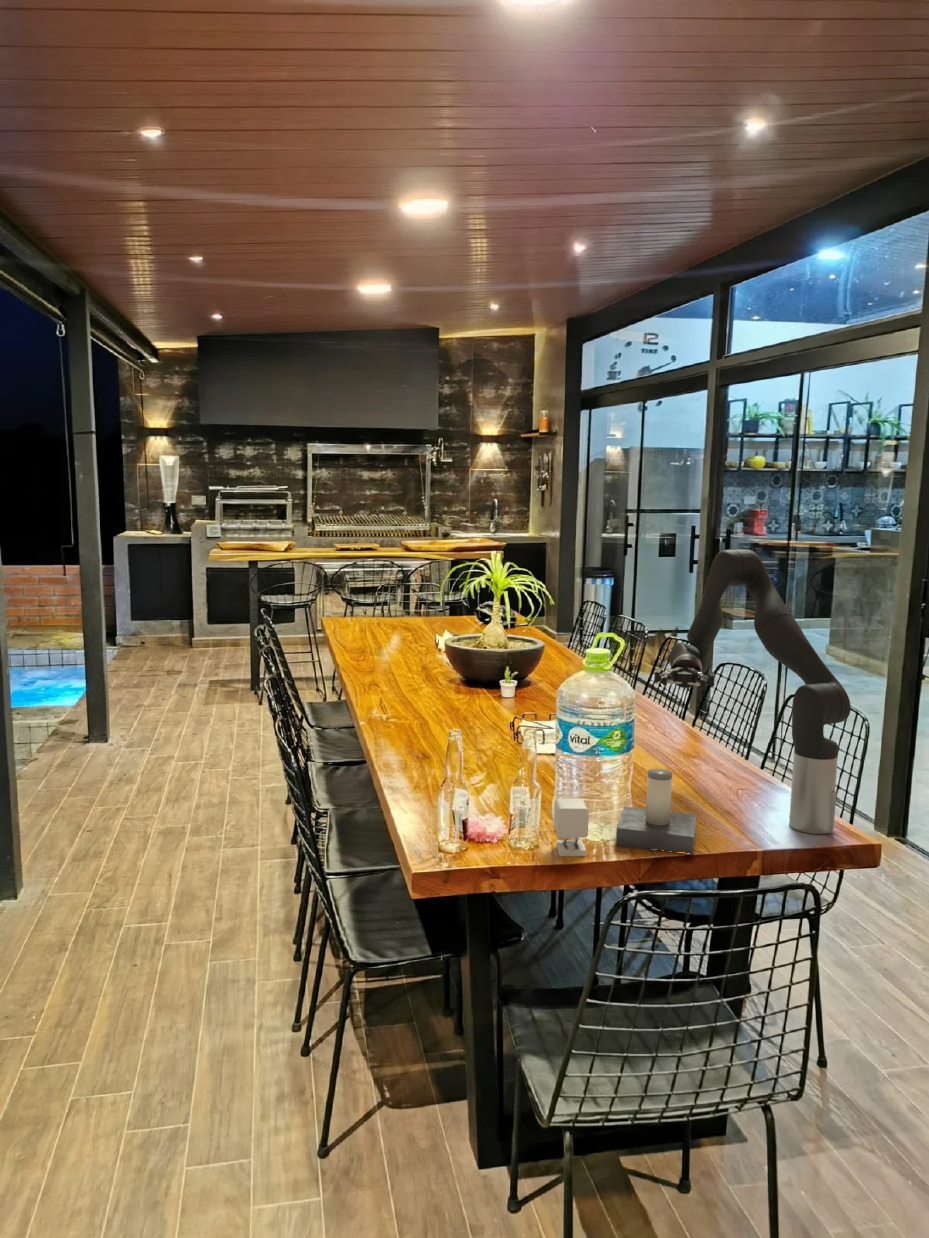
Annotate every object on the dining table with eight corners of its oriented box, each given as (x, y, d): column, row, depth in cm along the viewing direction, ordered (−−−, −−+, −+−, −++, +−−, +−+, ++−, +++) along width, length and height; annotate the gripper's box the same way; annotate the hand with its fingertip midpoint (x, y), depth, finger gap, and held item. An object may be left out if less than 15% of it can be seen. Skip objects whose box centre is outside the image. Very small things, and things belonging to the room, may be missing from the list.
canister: (670, 818, 203) (673, 769, 202) (669, 826, 198) (671, 776, 197) (646, 815, 205) (649, 767, 203) (644, 823, 200) (646, 774, 198)
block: (695, 831, 207) (696, 814, 206) (692, 855, 193) (693, 836, 193) (623, 823, 211) (624, 806, 210) (616, 845, 198) (616, 827, 197)
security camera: (582, 843, 199) (584, 798, 197) (587, 856, 192) (589, 809, 191) (553, 843, 199) (554, 798, 197) (557, 856, 192) (559, 809, 190)
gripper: (658, 653, 237) (653, 665, 221) (716, 657, 233) (715, 669, 217) (657, 682, 238) (652, 696, 222) (714, 686, 234) (713, 700, 218)
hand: (683, 683), depth 220 cm, fingers open, 8 cm apart
